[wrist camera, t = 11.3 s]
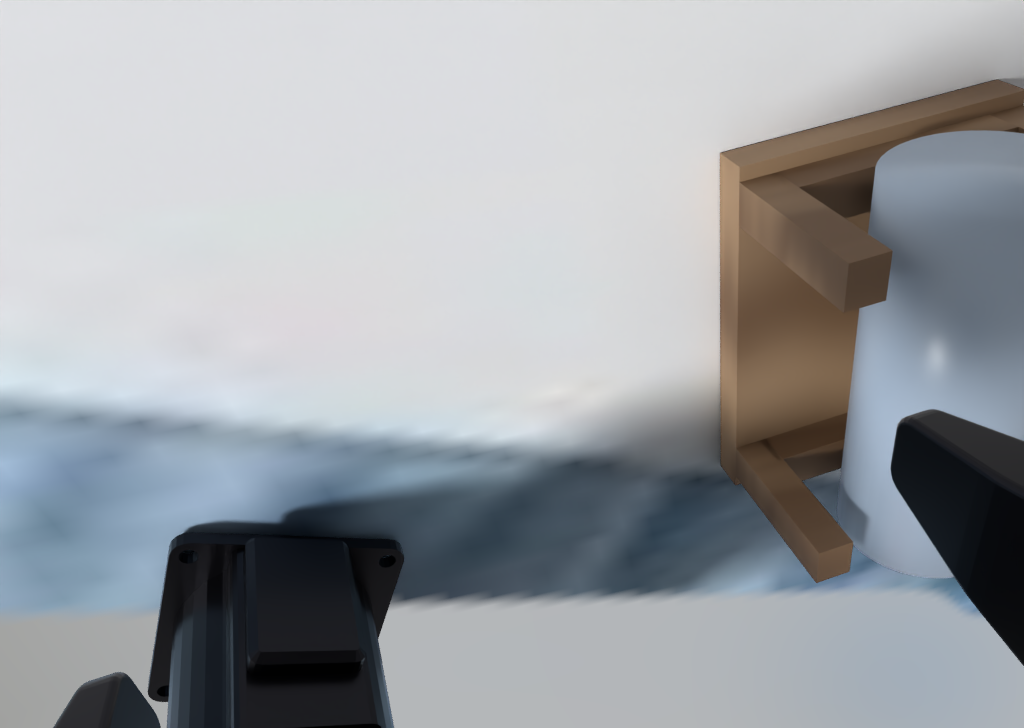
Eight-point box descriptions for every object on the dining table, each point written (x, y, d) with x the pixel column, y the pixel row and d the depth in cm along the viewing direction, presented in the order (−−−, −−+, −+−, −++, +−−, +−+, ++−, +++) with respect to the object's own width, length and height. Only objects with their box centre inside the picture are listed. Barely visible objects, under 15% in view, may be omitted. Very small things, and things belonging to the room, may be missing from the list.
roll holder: (936, 396, 29) (1065, 504, 24) (720, 465, 27) (815, 592, 23) (997, 79, 22) (1188, 148, 18) (719, 153, 21) (850, 246, 17)
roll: (923, 448, 27) (1039, 541, 23) (806, 497, 26) (908, 601, 23) (986, 115, 20) (1158, 176, 17) (833, 164, 20) (982, 239, 16)
